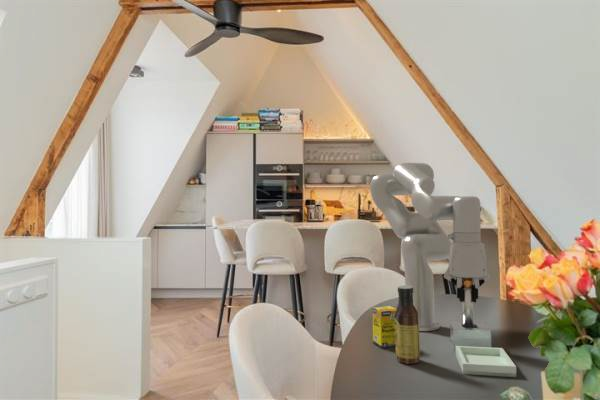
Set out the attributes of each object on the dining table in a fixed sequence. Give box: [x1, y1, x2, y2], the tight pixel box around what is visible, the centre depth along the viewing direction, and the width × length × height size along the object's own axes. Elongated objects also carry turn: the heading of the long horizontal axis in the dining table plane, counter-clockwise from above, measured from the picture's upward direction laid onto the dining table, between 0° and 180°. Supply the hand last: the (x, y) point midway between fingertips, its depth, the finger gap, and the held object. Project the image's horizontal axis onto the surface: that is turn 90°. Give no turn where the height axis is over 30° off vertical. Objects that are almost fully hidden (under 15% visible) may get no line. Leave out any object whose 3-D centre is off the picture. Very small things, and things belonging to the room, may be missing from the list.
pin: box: [461, 278, 474, 327], centre depth 127 cm, size 3×3×14 cm
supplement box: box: [372, 305, 397, 349], centre depth 130 cm, size 6×6×11 cm
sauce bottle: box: [395, 285, 421, 365], centre depth 116 cm, size 6×6×20 cm
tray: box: [455, 346, 517, 378], centre depth 111 cm, size 12×14×2 cm
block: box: [449, 321, 492, 351], centre depth 126 cm, size 10×8×6 cm
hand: (467, 300), depth 127 cm, fingers closed on pin, 3 cm apart
